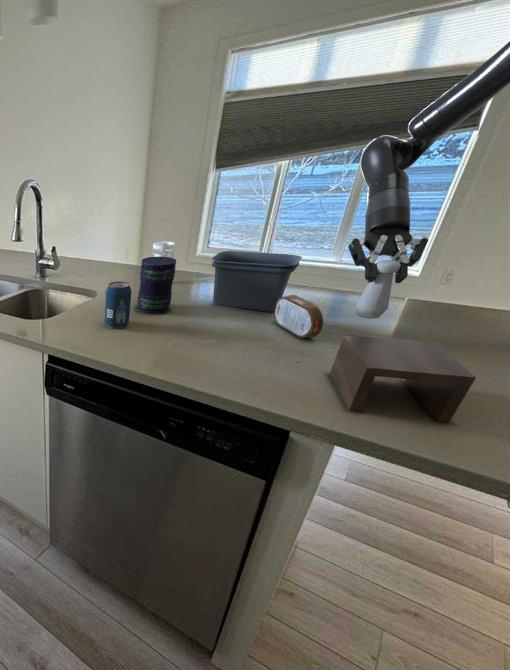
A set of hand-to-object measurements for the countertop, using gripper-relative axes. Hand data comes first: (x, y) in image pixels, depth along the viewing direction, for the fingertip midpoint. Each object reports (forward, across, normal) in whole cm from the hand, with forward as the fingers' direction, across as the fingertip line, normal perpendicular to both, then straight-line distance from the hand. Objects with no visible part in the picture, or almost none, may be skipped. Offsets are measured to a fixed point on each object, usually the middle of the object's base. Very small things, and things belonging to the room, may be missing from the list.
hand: (385, 280), depth 90 cm
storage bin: (-5, -23, +26) cm, 35 cm away
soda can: (+12, -58, +8) cm, 60 cm away
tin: (+9, -14, +11) cm, 20 cm away
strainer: (-19, -49, +39) cm, 65 cm away
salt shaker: (+5, 0, +8) cm, 9 cm away
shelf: (+30, -4, -10) cm, 32 cm away
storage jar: (+1, -49, +19) cm, 53 cm away
